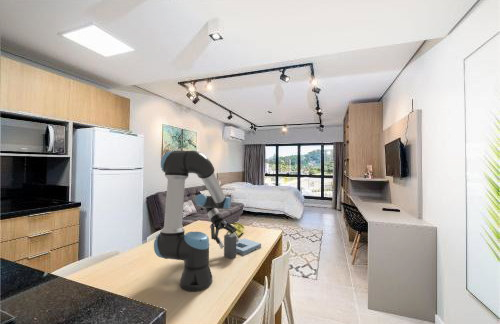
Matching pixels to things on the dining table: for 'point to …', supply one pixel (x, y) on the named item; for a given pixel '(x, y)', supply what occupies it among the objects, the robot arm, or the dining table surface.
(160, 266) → the dining table surface
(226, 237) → the servo block
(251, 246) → the plate
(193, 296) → the dining table surface
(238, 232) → the plastic component
